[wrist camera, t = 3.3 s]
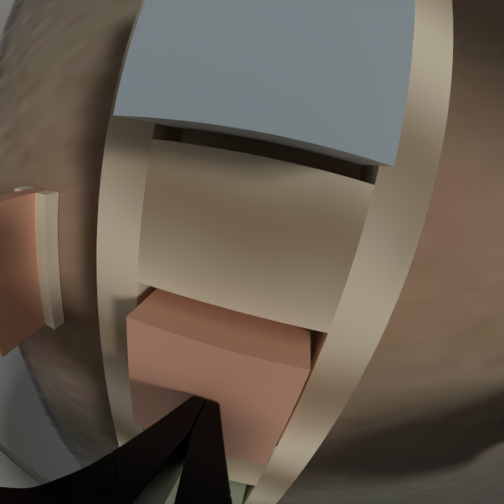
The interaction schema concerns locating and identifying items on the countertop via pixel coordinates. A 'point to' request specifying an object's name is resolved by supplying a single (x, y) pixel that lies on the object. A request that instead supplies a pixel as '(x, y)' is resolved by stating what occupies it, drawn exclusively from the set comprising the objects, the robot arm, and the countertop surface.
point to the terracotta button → (216, 368)
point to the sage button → (235, 488)
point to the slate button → (275, 72)
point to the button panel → (271, 242)
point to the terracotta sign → (28, 265)
